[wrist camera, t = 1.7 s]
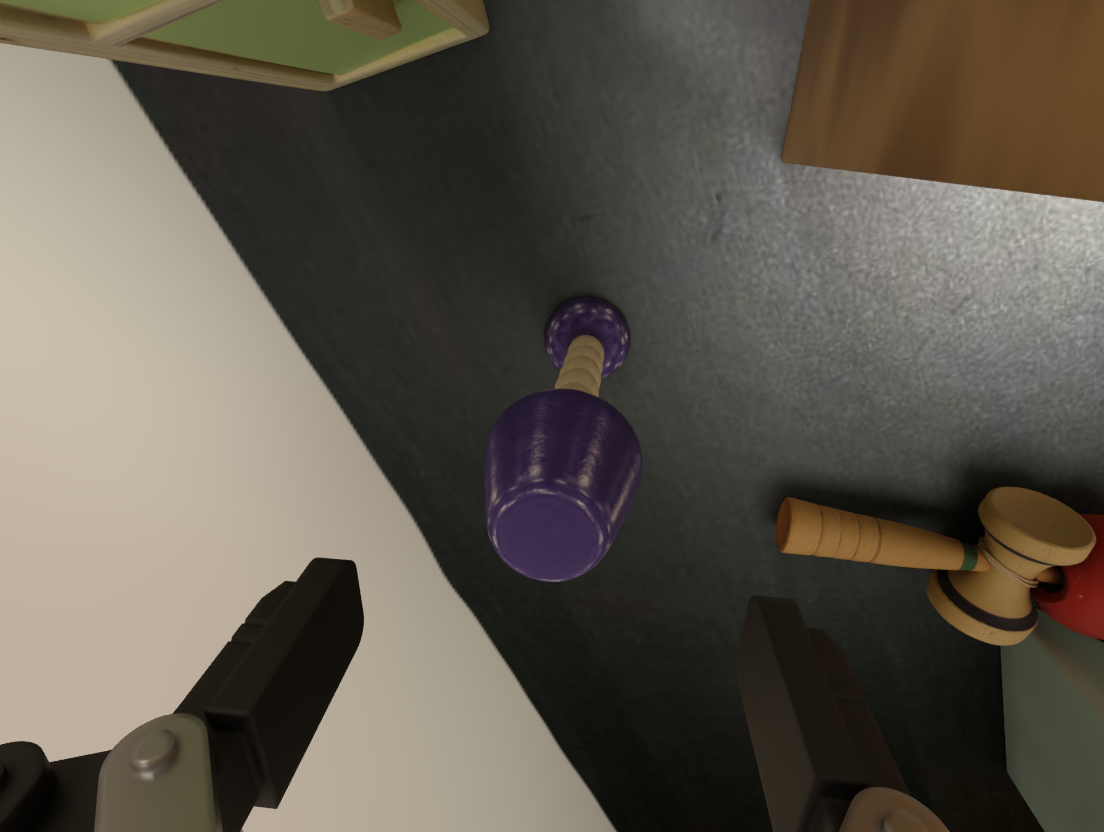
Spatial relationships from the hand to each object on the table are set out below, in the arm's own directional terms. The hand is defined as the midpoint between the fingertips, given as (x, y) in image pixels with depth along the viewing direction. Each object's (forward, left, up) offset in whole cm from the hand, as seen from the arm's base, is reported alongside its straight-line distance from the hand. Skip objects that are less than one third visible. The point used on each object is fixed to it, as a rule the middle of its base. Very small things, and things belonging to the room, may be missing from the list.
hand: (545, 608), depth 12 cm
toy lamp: (0, 0, -19) cm, 19 cm away
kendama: (+10, +20, -19) cm, 29 cm away
